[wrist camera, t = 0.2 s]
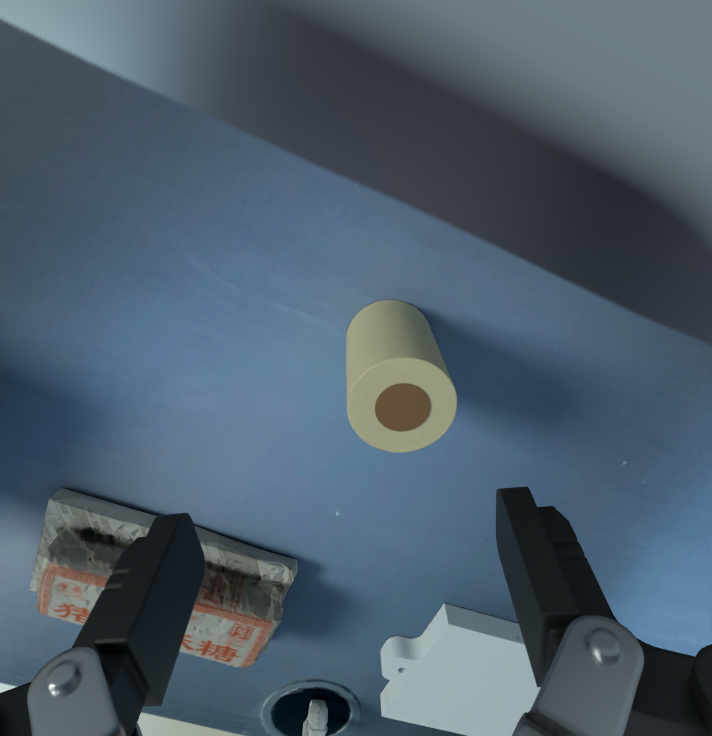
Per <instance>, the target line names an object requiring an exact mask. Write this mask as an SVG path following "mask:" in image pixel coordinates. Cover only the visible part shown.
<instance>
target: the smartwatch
mask: <svg viewBox="0 0 712 736" xmlns="http://www.w3.org/2000/svg"><path fill="white" fill-rule="evenodd" d="M327 721H328V708H327V707H326V704H325V701H324V700H315V699H313V700H311V702H310V707H309V713H308V717H307V719H306V721H305V722H304V723H303V736H325V733H326V732H327V726H326V724H327Z"/></svg>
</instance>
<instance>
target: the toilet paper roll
mask: <svg viewBox="0 0 712 736" xmlns="http://www.w3.org/2000/svg"><path fill="white" fill-rule="evenodd" d="M346 368H347V413H348V417H349V421H350V423H351V426H352V427H353V429H354V431H355V432H356V433H357V435H358V436H359V437H360V438H361V439H362V440H364V441H365V442H366V443H368V444H369V445H371V446H373V447H375V448H378V449H380V450H384V451H388V452H399V453H401V452H410V451H415V450H419V449H422V448H424V447H427V446H428V445H430V444H432V443H434V442H435V441H437V440H438V439H439V438H440V437H441V436H443V434H444V433H445V432H446V431H447V430H448V428H449V427H450V426H451V424H452V422H453V420H454V417H455V414H456V410H457V394H456V390H455V387H454V385H453V382H452V380H451V377H450V375H449V372H448V370H447V367H446V365H445V363H444V360H443V358H442V355H441V353H440V350H439V348H438V345H437V343H436V341H435V338H434V336H433V333H432V331H431V328H430V326H429V324H428V321H427V320H426V318H425V316H424V315H423V314H422V313H421V312H420V311H419V310H418V309H417V308H415V307H414V306H412V305H410V304H408V303H406V302H403V301H398V300H383V301H378V302H375V303H372V304H370V305H368V306H366V307H365V308H363V309H362V310H361V311H360V312H359V313H358V314H357V315H356V316H355V317H354V318H353V320H352V321H351V323H350V325H349V328H348V331H347V335H346Z"/></svg>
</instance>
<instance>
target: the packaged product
mask: <svg viewBox="0 0 712 736" xmlns="http://www.w3.org/2000/svg"><path fill="white" fill-rule="evenodd" d="M156 517H157V516H156V515H151V514H147V513H144V512H141V511H137V510H134V509H131V508H127V507H124V506H121V505H117V504H114V503H111V502H107V501H104V500H100V499H97V498H94V497H90V496H87V495H84V494H80V493H77V492H74V491H70V490H67V489H63V488H61V489H60V490H58V491H57V492H56V493H55V494H54V495H53V496H52V497H50V498H49V502H48V506H47V510H46V513H45V520H44V524H43V527H42V533H41V539H40V544H39V548H38V552H37V557H36V561H35V565H34V569H33V574H32V578H31V580H32V581H31V585H30V588H29V590H30V591H37V594H38V600H39V601H38V603H37V608H38V610H39V613H41V614H44V615H47V616H49V617H52V618H57V619H59V620H64V621H67V622H70V623H74V624H78V625H82V626H84V624H85V622H86V620H87V618H88V616H89V614H90V613H91V611H92V609H93V607H94V605H95V603H96V601H97V599H98V597H99V596H100V594H101V592H102V590H104V589H105V587H104V586H105V584H106V582H107V580H108V579H109V577H110V575H112V571H113V569H114V567H115V565H116V563H117V562H118V560H119V558H120V556H121V554H122V553H123V552H124V551H125V550H126V549H127V548H128V547H129V546H130V545H131V544H132V543H133V542H134V540H135V539H136V538H137V537H146V535H147V533H148V531H149V529H150V527H151V525H152V523H153V521H154V519H155V518H156ZM194 527H195V530H196V533H197V535H198V538H199V541H200V544H201V546H202V549H203V552H204V556H205V574H204V578H203V581H202V584H201V587H200V590H199V593H198V596H197V599H196V602H195V605H194V608H193V611H192V614H191V617H190V620H189V623H188V626H187V629H186V632H185V635H184V638H183V641H182V644H181V647H180V650H179V652H182V653H186V654H191V655H195V656H199V657H203V658H206V659H208V660H212V661H218V662H220V663H224V664H227V665H229V666H234V667H243V668H246V667H248V666H249V665H250V666H251V665H252V664H254V663H255V662H256V661H257V659H258V657H259V655H260V654H261V653H262V652H263V651H264V650H266V649H267V646H268V644H269V641H270V639H271V637H272V636H273V635H274V631H275V629H276V628H277V627H278V625H279V624H280V623H281V622H282V614H283V610H284V609H283V600H284V598H285V595H286V593H287V591H288V590H289V588H290V586H291V584H292V582H293V581H294V578H295V576H296V573H297V571H298V566H297V560H295V559H292V558H288V557H285V556H281V555H278V554H274V553H271V552H267V551H264V550H261V549H258V548H255V547H252V546H249V545H246V544H244V543H241V542H238V541H235V540H232V539H229V538H226V537H223V536H221V535H218V534H215V533H213V532H210V531H207V530H205V529H202V528H199V527H197V526H194Z"/></svg>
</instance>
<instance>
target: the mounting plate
mask: <svg viewBox="0 0 712 736" xmlns="http://www.w3.org/2000/svg"><path fill="white" fill-rule="evenodd" d="M381 667H382V675H383V677H384V678H386V679H388V680H390V681H389V683H388V684H387V685H386V687H385V688H384V690H383V691H382V693H381V694H380V698H381V713H382V717H387V718H391V719H396V720H400V721H405V722H409V723H414V724H418V725H423V726H427V727H432V728H436V729H441V730H445V731H450V732H454V733H459V734H463V735H468V736H512V734H513V732H514V730H515V728H516V725H517V723H518V721H519V720H520V718H521V716H522V715H523V714H524V713H525V712H527V713H528V712H529V711H530V709H531V708H532V706H533V704H534V701H535V699H536V697H537V695H538V692H539V690H540V688H541V687H537V685H536V682H535V678H534V675H533V671H532V668H531V664H530V661H529V657H528V654H527V650H526V647H525V643H524V640H523V637H522V633H521V630H520V626H519V624H518V623H514V622H510V621H507V620H503V619H500V618H496V617H492V616H489V615H485V614H481V613H478V612H474V611H471V610H467V609H463V608H460V607H456V606H452V605H449V604H445V603H444V604H443V606H442V607H441V608H440V610H439V611H438V613H437V614H436V616H435V617H434V618H433V620H432V621H431V623H430V624H429V626H428V627H427V628H426V630H425V631H424V633H423V634H422V635H421V636H419V637H417V638H412V639H410V638H405V637H401V636H394V637H391V638H389V639H388V640H387V641H386V642H385V644H384V645H383V647H382V648H381Z"/></svg>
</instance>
